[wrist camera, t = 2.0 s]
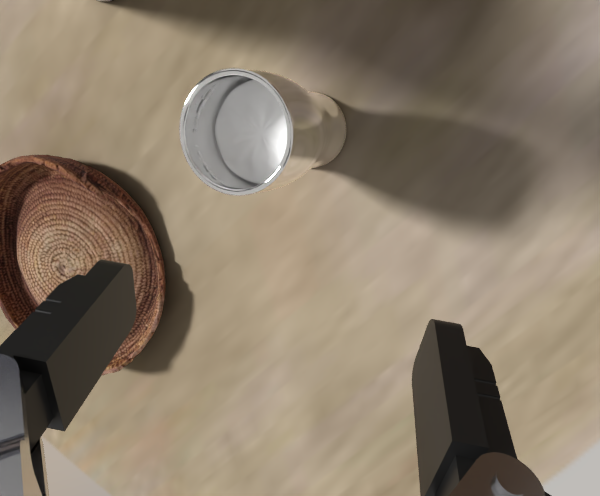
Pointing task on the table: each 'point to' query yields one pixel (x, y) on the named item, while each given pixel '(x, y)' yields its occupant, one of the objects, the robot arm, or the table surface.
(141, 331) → the basket
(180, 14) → the table surface
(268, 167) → the beer glass
